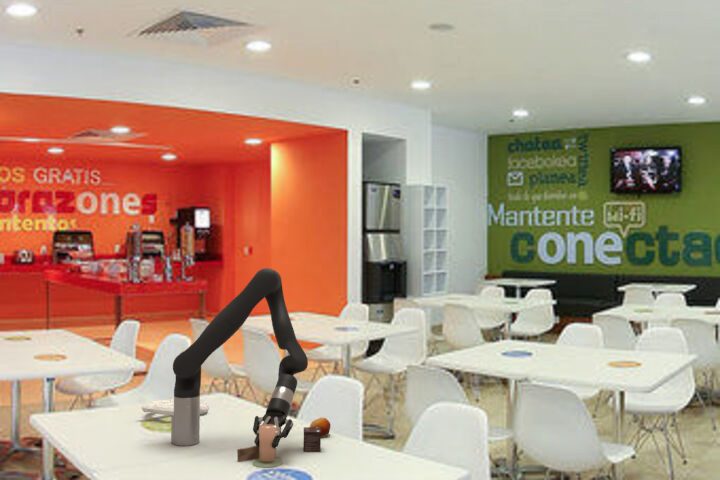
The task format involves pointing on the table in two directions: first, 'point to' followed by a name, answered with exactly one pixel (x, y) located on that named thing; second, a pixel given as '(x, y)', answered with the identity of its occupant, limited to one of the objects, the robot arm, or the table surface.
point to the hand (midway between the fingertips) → (265, 446)
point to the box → (312, 439)
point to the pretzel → (167, 407)
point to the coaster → (267, 463)
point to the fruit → (322, 426)
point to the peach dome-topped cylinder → (267, 442)
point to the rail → (247, 453)
